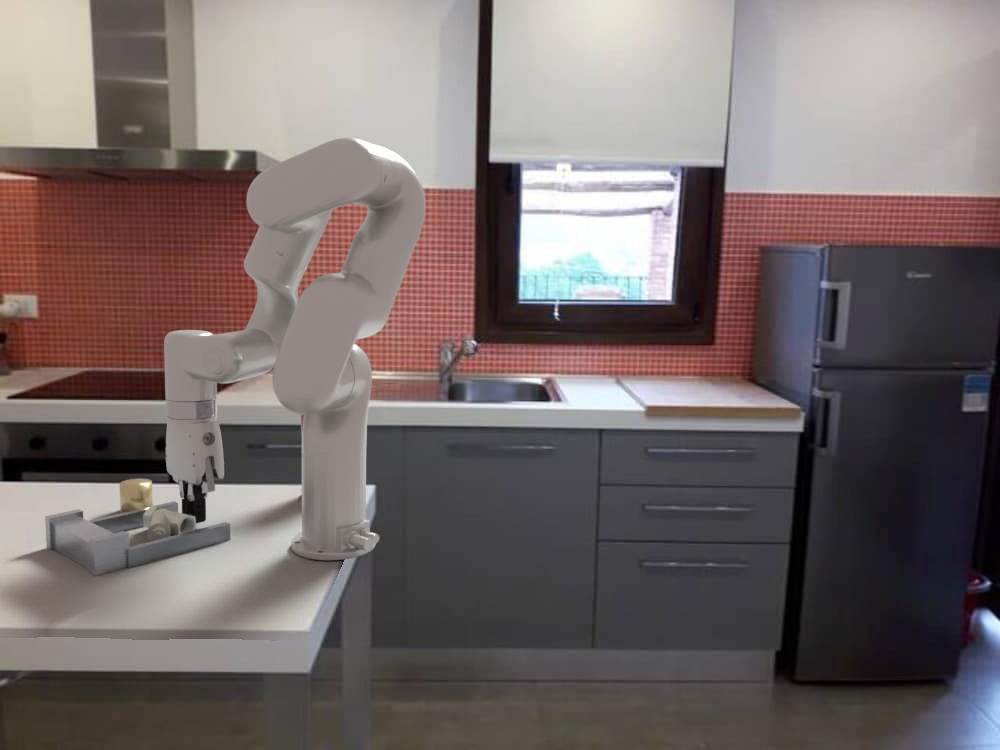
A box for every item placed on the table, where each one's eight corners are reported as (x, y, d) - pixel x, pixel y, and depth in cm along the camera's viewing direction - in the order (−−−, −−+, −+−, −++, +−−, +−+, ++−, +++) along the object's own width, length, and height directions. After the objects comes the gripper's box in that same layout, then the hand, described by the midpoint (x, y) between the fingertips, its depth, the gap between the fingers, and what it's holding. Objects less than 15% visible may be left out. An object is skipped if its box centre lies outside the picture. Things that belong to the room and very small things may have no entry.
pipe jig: (230, 539, 126) (229, 509, 125) (97, 576, 110) (95, 542, 110) (174, 515, 136) (173, 488, 136) (45, 546, 121) (43, 515, 120)
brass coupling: (158, 511, 139) (157, 482, 138) (129, 517, 135) (128, 488, 134) (143, 504, 142) (142, 477, 141) (115, 511, 138) (113, 482, 137)
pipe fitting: (161, 550, 122) (197, 534, 128) (159, 525, 121) (195, 510, 127) (125, 540, 126) (161, 524, 132) (123, 516, 125) (159, 502, 131)
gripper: (239, 413, 126) (241, 527, 128) (189, 400, 135) (191, 506, 138) (194, 419, 120) (197, 539, 123) (144, 405, 129) (148, 516, 132)
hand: (194, 521), depth 130 cm, fingers closed
